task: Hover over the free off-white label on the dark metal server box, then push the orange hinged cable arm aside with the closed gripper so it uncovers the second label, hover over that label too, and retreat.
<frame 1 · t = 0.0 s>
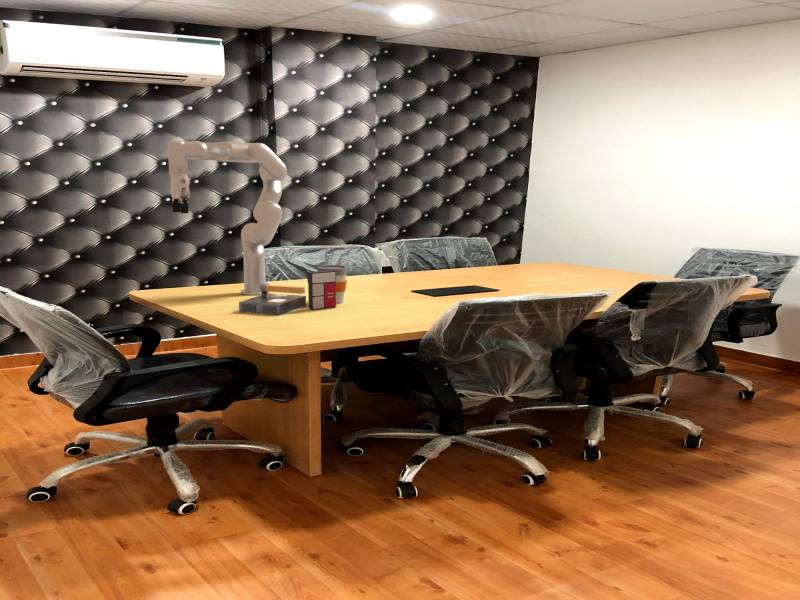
hand: (180, 212, 309), 37 cm above the table, tool pointing down, fingers open, 9 cm apart
label a: (278, 306, 302), resting on server box
reusable coffee cup: (332, 302, 311), on the table
label b: (277, 311, 291), resting on server box
grey and red box: (322, 308, 297), on the table
server box: (273, 308, 296), on the table
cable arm: (281, 288, 301), point 7 cm above the table, hinge at 90.0°
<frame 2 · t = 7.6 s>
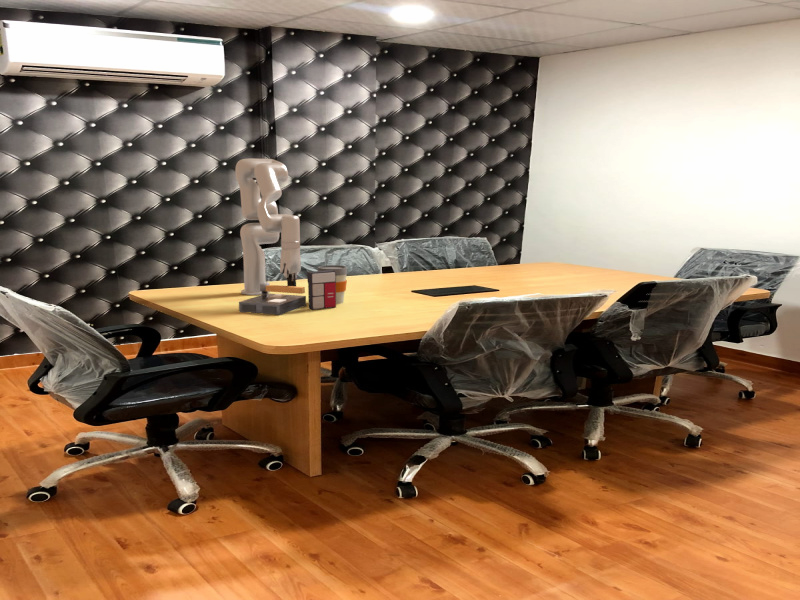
hand: (291, 290, 303), 6 cm above the table, tool pointing down, fingers closed
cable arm: (281, 288, 301), point 7 cm above the table, hinge at 90.0°, touching gripper
everything else where it was.
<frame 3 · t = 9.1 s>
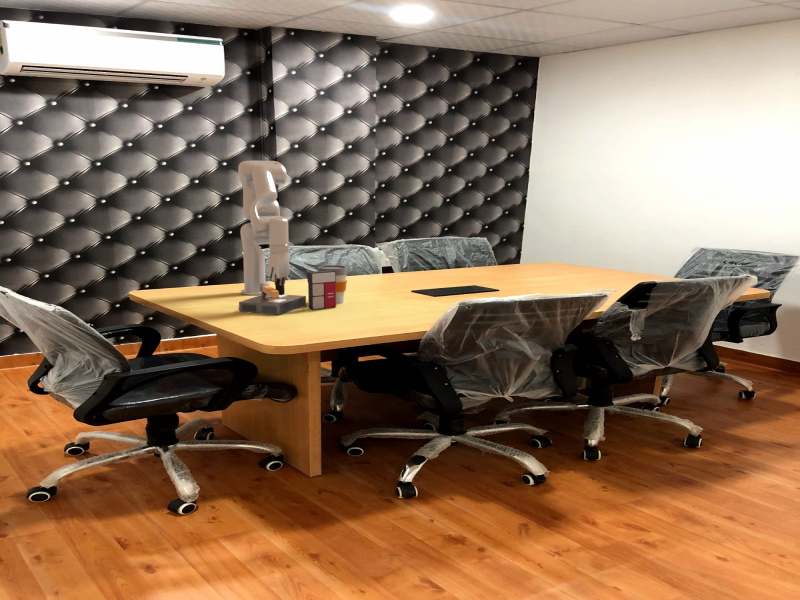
hand: (280, 294, 295), 6 cm above the table, tool pointing down, fingers closed
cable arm: (269, 290, 297), point 7 cm above the table, hinge at 44.5°, touching gripper
everything else where it was.
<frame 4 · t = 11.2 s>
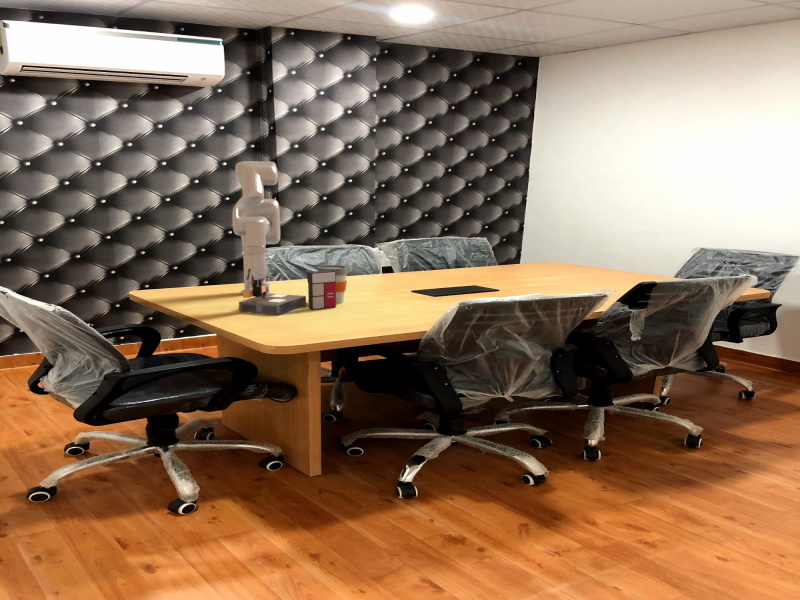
hand: (257, 296, 291), 6 cm above the table, tool pointing down, fingers closed
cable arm: (256, 290, 296), point 7 cm above the table, hinge at 6.8°, touching gripper
everything else where it was.
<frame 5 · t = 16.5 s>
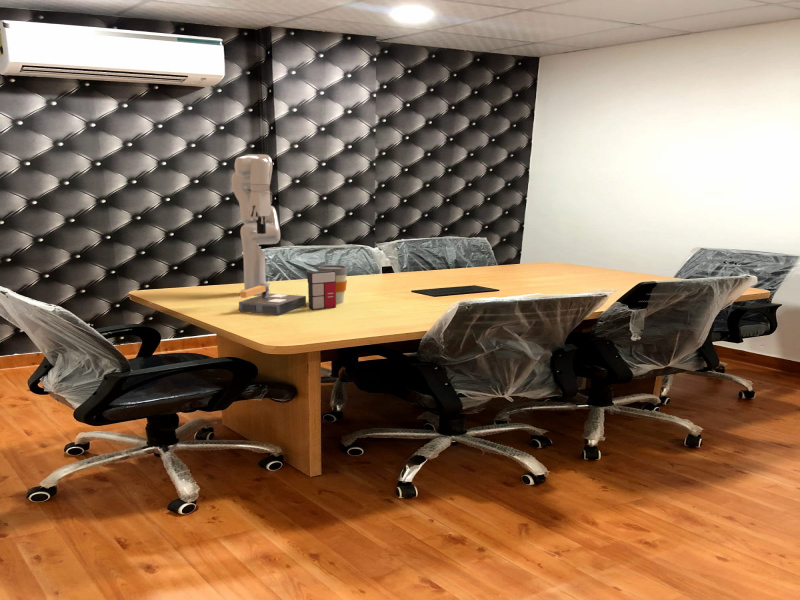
hand: (261, 233, 305), 29 cm above the table, tool pointing down, fingers closed
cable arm: (255, 290, 296), point 7 cm above the table, hinge at 3.5°
everything else where it was.
at the end: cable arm at +4° (first picture: +90°) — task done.
